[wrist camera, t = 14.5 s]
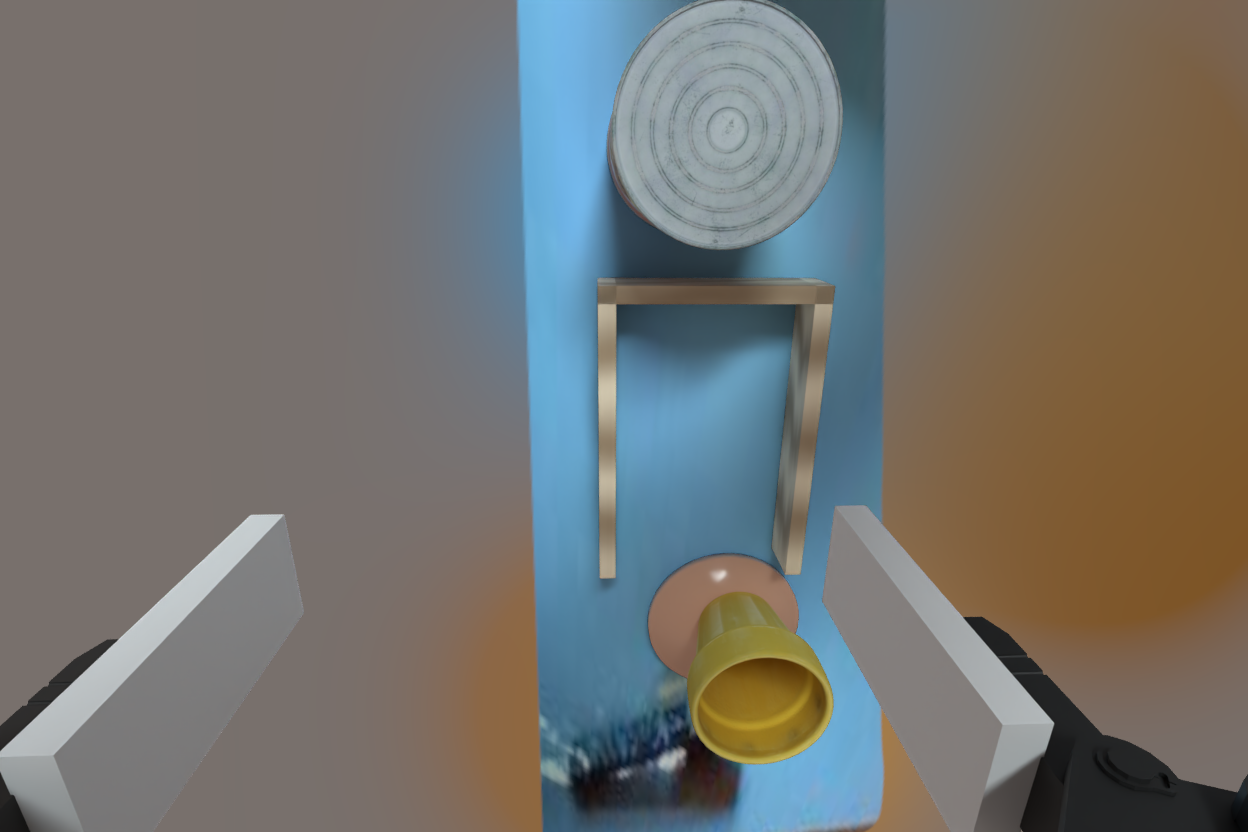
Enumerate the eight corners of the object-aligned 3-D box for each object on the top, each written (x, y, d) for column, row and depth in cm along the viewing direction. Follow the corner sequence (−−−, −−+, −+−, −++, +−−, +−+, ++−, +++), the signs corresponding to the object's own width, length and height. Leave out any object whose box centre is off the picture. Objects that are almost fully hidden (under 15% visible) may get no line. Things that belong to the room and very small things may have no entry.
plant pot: (668, 669, 55) (683, 765, 46) (682, 569, 52) (701, 651, 42) (783, 673, 56) (820, 768, 47) (804, 575, 52) (848, 656, 43)
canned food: (592, 66, 40) (592, 17, 28) (768, 36, 39) (838, -27, 28) (621, 247, 43) (631, 267, 32) (781, 220, 43) (847, 230, 32)
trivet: (681, 534, 51) (682, 539, 51) (821, 577, 53) (824, 583, 53) (626, 656, 55) (626, 662, 55) (758, 691, 57) (760, 698, 57)
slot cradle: (597, 277, 44) (597, 285, 40) (815, 277, 45) (835, 285, 41) (599, 550, 52) (599, 578, 48) (785, 546, 52) (800, 574, 48)
